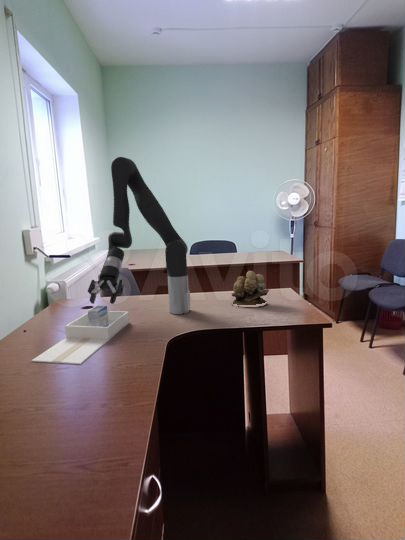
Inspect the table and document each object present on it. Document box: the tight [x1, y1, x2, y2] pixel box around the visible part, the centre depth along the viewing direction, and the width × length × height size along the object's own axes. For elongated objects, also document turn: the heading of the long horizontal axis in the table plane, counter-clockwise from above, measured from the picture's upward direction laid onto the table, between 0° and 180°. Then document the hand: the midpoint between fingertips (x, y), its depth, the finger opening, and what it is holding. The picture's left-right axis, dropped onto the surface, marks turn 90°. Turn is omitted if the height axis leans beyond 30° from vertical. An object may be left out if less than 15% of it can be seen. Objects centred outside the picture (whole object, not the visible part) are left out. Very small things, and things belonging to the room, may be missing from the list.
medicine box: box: [87, 305, 109, 327], centre depth 132 cm, size 8×4×9 cm, turn 170°
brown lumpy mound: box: [231, 270, 270, 305], centre depth 160 cm, size 18×12×17 cm, turn 88°
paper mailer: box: [31, 310, 130, 365], centre depth 123 cm, size 17×38×5 cm, turn 169°
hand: (101, 302), depth 133 cm, fingers open, 8 cm apart
